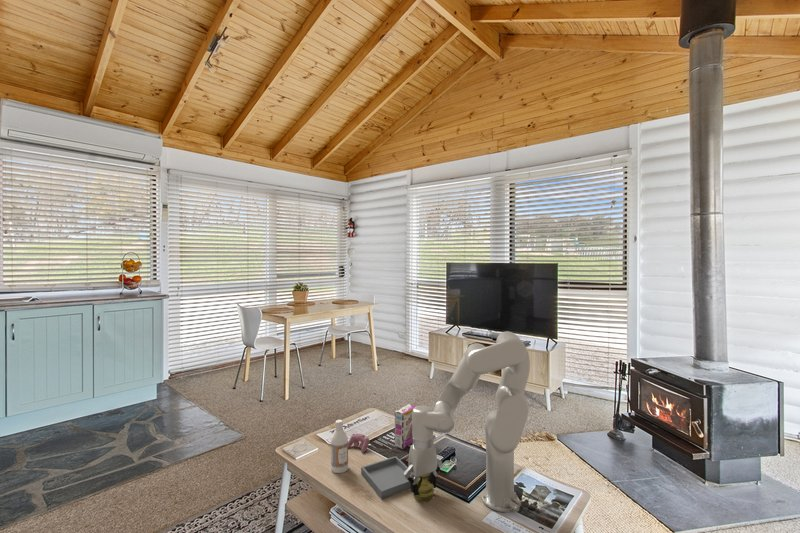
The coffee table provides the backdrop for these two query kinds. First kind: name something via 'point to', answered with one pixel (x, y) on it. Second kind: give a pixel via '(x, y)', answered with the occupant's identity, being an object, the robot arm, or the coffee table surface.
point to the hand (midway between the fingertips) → (423, 489)
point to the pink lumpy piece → (356, 438)
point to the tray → (386, 477)
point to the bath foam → (339, 449)
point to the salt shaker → (424, 489)
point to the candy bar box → (403, 426)
